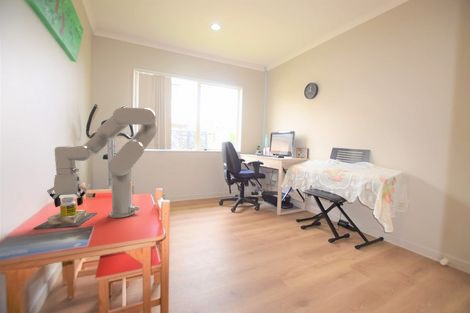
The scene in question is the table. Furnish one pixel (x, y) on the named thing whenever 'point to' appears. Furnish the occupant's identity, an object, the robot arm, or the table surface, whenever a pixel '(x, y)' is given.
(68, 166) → the robot arm
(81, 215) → the grey square base
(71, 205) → the pill bottle
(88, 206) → the table surface
